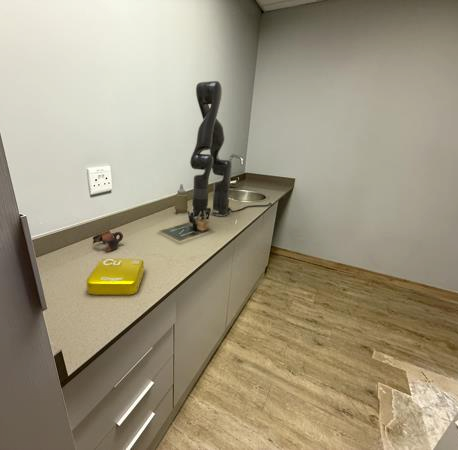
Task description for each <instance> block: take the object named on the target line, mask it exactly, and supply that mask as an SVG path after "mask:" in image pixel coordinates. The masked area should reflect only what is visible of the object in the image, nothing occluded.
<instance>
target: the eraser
mask: <svg viewBox="0 0 458 450" xmlns="http://www.w3.org/2000/svg"><path fill="white" fill-rule="evenodd" d="M196 218H197V217H196ZM195 221H196V219H195ZM189 228H191V229H193V223H190V227H189ZM209 229H210V220H204V219H202V218H201V217H200V218H199V220H198V222H197V231H198V232H201V233H202V234H204V233H203V232H205V233H207V232H206V231H208V232H210V231H209Z"/></svg>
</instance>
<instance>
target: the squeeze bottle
mask: <svg viewBox="0 0 458 450" xmlns="http://www.w3.org/2000/svg"><path fill="white" fill-rule="evenodd" d="M174 202H175V203H174V210H175V213H176V214H177V215H179V214H185V213H187V212H188V208H189V207H188V195H187V194H186V190H185V189H184V185H183V184H182V183H181V184H180V185H179V189H177V193H175V201H174Z"/></svg>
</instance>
